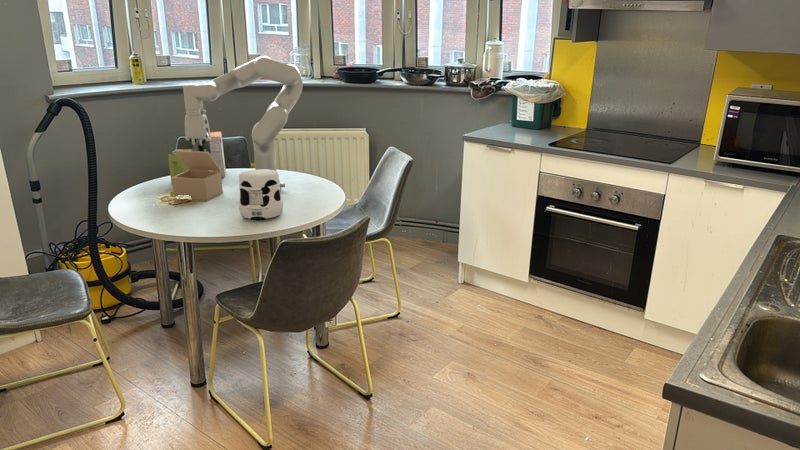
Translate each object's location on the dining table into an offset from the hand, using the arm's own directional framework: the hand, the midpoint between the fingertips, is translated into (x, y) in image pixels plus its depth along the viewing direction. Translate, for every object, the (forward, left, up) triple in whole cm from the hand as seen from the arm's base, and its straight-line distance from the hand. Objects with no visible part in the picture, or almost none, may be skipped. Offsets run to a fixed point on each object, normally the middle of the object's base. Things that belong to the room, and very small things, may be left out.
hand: (199, 153), depth 273 cm
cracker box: (+10, -33, -19) cm, 39 cm away
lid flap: (0, +2, -3) cm, 4 cm away
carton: (0, +5, -19) cm, 19 cm away
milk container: (-41, +27, -19) cm, 52 cm away
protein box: (+16, -15, -19) cm, 29 cm away
